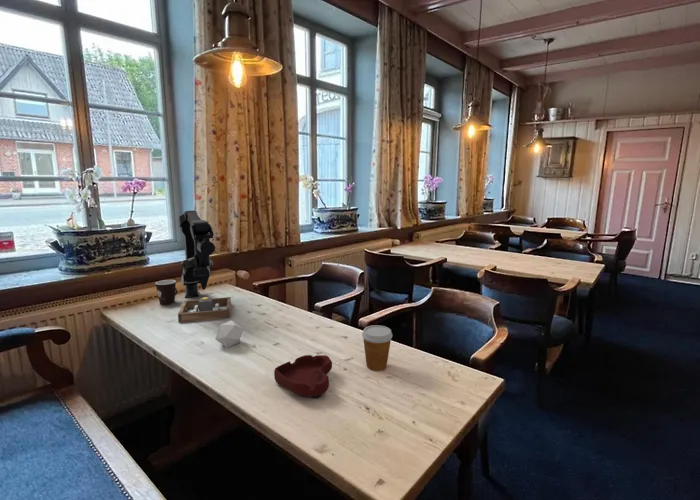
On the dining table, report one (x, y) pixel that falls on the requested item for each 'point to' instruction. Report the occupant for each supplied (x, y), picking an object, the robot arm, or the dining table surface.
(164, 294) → the coffee mug
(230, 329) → the die
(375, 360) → the disposable coffee cup
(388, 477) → the dining table surface
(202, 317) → the wooden serving tray
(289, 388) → the ashtray
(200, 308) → the grey block
